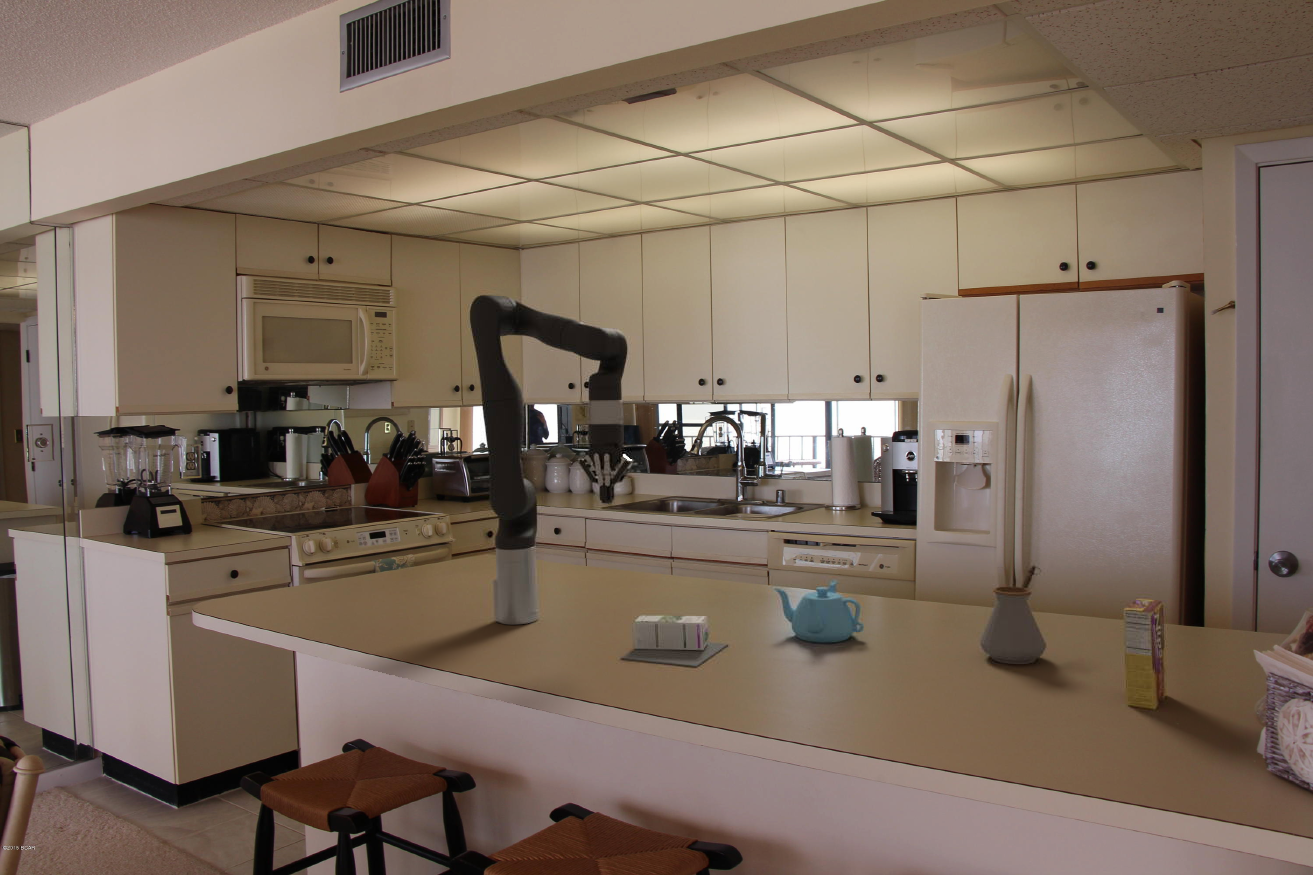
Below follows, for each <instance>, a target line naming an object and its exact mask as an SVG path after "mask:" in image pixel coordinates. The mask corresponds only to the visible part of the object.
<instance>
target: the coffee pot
mask: <svg viewBox="0 0 1313 875" xmlns="http://www.w3.org/2000/svg"><path fill="white" fill-rule="evenodd" d="M1036 569H1038V570H1039V572H1038V573H1035V571H1036ZM1041 572H1042V571H1041V568H1039V567H1038V566H1036V565H1035V564H1034V565H1032V566H1030V567H1028V571H1027V574H1026V575H1025V577H1024V579H1023V582H1022V584H1021V586H998V587H995V588H993V589H992V591H993V593H995V597H996V602H995V604H994V607H993V609H992V610H991V611H992V612H991V613H990V616H989V618H988V619H987V622H986V625H985V628H984V630H983V632H982V634H981V637H980V639H979V643H980V646H981V649H982V650H983V651H984V652H985V653H986V654H987V655H988V656H990V659H992V661H995V662H998V663H1003V664H1008V665H1009V664H1010V665H1027V664H1028V665H1029V664H1031V663H1035V661H1036V659H1038V658H1040V657H1042V656H1043V654H1044V653H1045V650H1046V649H1047V643H1046V641H1045V639H1044V636H1043V635H1042V633H1041V631H1040V628H1039V626H1038V623H1037V621H1036V619H1035V618H1034V614H1033V613H1032V611H1031V608H1030V606H1029V604H1028V602H1027V601H1028V599H1029V597H1030V596H1031V594H1032V590H1030V589H1028V587H1029V586H1030V583H1031V582H1032V580H1033V579H1032V578H1033V576H1035V575H1036V576H1037V575H1040V574H1041Z"/></svg>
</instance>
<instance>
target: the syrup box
mask: <svg viewBox="0 0 1313 875" xmlns="http://www.w3.org/2000/svg"><path fill="white" fill-rule="evenodd" d="M631 628H632V630H631V631H632V648H633V649H634V650H635V649H658V650H704V648H705V646H706V645H707V643H708V642H709V631H710V630H709V622H708V616H706V615H705V616H704V615H702V616H701V615H699V616H698V615H656V614H655V615H653V614H652V615H649V614H648V615H646V614H645V615H643V614H639V615H638V616H637V617H636V618H635V619H634V620H633V621H632V627H631Z"/></svg>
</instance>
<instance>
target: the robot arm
mask: <svg viewBox="0 0 1313 875" xmlns="http://www.w3.org/2000/svg"><path fill="white" fill-rule="evenodd" d="M469 324H470V331H471V334H472V339H473V344H474V349H475V353H476V354H475V355H476V360H477V367H478V374H479V383H480V389H481V391H480V392H481V405H482V406H481V407H482V415H483V423H484V428H485V429H484V431H485V440H486V448H487V454H488V463H489V464H488V465H489V468H488V470H489V483H488V484H489V485H488V486H489V488H488V489H489V492H488V493H489V503H490V504H489V505H490V507H491V509H492V511H493V512H494V514H495V515H496V516H498V528H497V532H496V534H495V537H494V544H495V545H494V546H495V564H496V565H495V567H496V570H495V572H496V579H494V580H493V581H492V586H493V589H492V590H493V613H494V616H493V617H494V622H498V623H500V624H503V625H523V624H524V625H525V624H530V623H534V622H536V621H537V620H538V619H539V602H538V600H539V599H538V582H537V581H538V580H537V578H538V576H537V551H536V550H537V547H536V537H537V532H538V498H537V492H536V489H535V487H534V485H533V483H531V482H530V480H528V479H526V478H525V477H524V476H523V469H522V463H521V462H522V461H521V453H522V452H521V450H522V443H523V435H524V426H525V412H524V401H523V400H524V399H523V393H522V390H521V386H520V385H519V383H518V381H517V379H516V376H514V374H513V372H512V370H511V369H510V367H509V365H508V363H507V362H506V359H505V357H504V356H505V355H504V353H503V349H502V341H501V337H506V336H523V337H524V336H525V337H530V338H533V339H536V340H538V341H539V342H541V343H542V344H545V345H547V346H548V347H552V348H555V349H557V350H562V351H564V352H570V353H573V354H575V355H577V356H579V357H581V358H583V359H587V360H592V361H595V362H597V361H599V365H598V366H599V367H598V370H597V372H594V373H592V374H591V375H589V378H588V405H587V406H588V407H587V432H588V433H587V435H588V439H587V440H588V441H587V442H588V445H589V447H588V450H587V454H586V456H585V457H584V458H581V459H579V460H578V464H579V465H580V467H581V468H582V469H583V471H584V473H585V474H586V476H587V478H588V479H589V480H590V481H591V482H592V483H595V484H597V485H598V486H599V487H598V489H599V500H600V501H601V504H604V505H605V504H607V505H608V504H609V505H610V504H612V503H613V501H614V500H615V485H616V484H619V483H622V482H623V481H624V479H625V478H626V477H627V475H628V474H629V472H630V471H631V469H632V467H633V466H634V465H635V460H634V459H630V458H629V457H628V456H627V455H626V452H625V448H624V441H625V440H624V438H625V437H624V407H623V401H622V400H623V398H622V397H623V395H622V392H623V391H622V389H623V388H622V381H623V375H624V372H625V368H626V367H625V366H626V363H627V359H628V358H627V357H628V348H629V347H628V342H627V338H626V336H625V334H624V333H623V332H622V331H621V330H619V329H617V328H611V327H601V326H594V325H589V324H585V323H584V322H582V321H580V320H577V319H573V318H569V317H564V316H560V315H558V314H557V315H556V314H551V313H546V312H543V311H539V310H537V309H534V308H532V307H529V306H528V305H526V304H523V303H521V302H520V301H517V300H515V299H513V298H511V297H509V296H505V295H504V296H503V295H493V294H483V295H482V294H481V295H478V296H477V297H475V298H474V300H473V301H472V302H471V305H470V310H469ZM619 465H620V466H619ZM618 467H619V469H618Z"/></svg>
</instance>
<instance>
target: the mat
mask: <svg viewBox="0 0 1313 875" xmlns="http://www.w3.org/2000/svg"><path fill="white" fill-rule="evenodd" d="M726 646H727V647H729V643H723V642H722V643H721V642H710V641H708V643H707V645H706V646H705V648H704V650H658V649H634V650H632V651H631V652H628V653H627V654H624V655H623V656H621V657H620V660H625V661H626V660H627V661H634V662H643V663H652V664H662V665H673V666H681V667H690V668H698V667H699V666H701V665H702V664H704V663H705V662H706V661H708V660H709V659H711V658H713V657H714V656H716V655H717V654H718V653H719V651H720V652H721V651H722V650H724V649H726V648H727V647H726ZM716 653H717V654H716ZM703 662H704V663H703ZM700 664H701V665H700Z"/></svg>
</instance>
